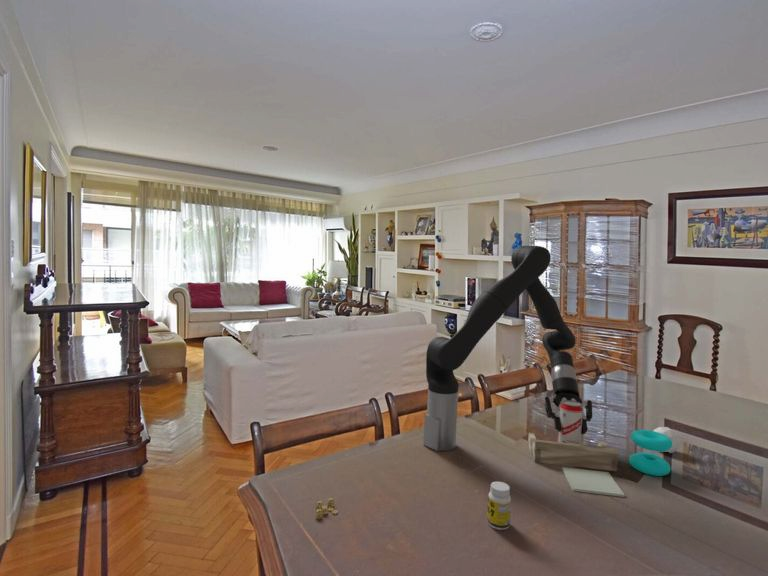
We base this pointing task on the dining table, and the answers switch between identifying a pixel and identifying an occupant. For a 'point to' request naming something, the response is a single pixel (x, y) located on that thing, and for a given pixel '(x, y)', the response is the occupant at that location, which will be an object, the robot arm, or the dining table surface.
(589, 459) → the birch bay
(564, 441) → the beer can
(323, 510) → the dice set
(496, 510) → the supplement bottle
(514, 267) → the robot arm
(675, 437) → the geometric ball
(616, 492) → the sage tile
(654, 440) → the donuts
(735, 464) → the dining table surface
